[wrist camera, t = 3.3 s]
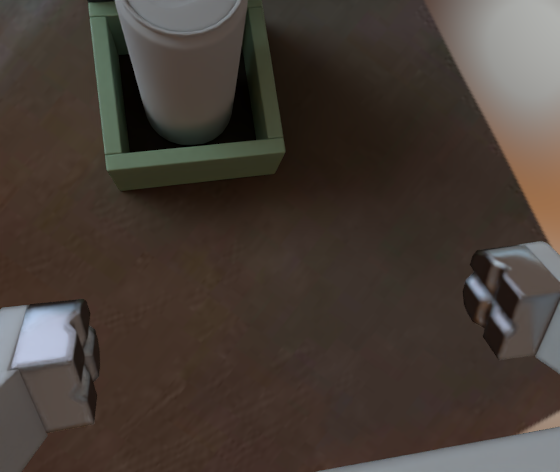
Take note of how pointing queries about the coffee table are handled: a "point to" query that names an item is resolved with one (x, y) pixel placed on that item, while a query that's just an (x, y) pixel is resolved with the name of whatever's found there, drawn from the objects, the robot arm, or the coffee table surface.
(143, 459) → the coffee table surface
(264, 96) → the stand
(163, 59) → the beverage can
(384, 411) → the coffee table surface
